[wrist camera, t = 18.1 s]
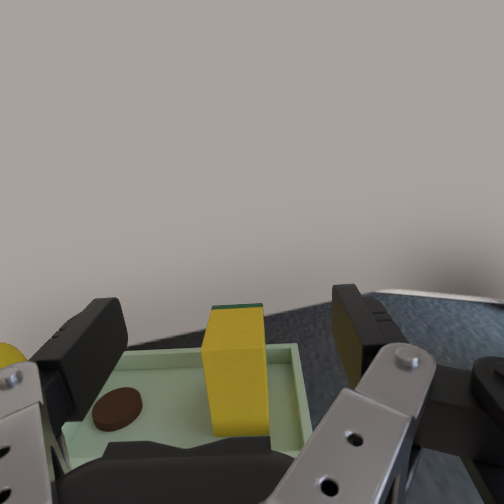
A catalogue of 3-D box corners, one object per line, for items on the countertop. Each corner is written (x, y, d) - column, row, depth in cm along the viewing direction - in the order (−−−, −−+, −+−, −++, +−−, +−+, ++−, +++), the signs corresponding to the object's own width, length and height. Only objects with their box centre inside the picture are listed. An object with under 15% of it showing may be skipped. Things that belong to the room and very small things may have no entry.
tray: (297, 362, 37) (297, 342, 36) (317, 484, 24) (317, 459, 23) (110, 370, 38) (105, 351, 37) (35, 492, 25) (25, 468, 24)
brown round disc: (148, 392, 33) (146, 385, 33) (134, 430, 29) (132, 421, 29) (104, 396, 33) (102, 388, 33) (85, 433, 29) (82, 425, 29)
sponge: (267, 378, 34) (262, 302, 31) (269, 435, 28) (263, 347, 25) (221, 380, 34) (212, 305, 31) (213, 437, 28) (200, 350, 25)
